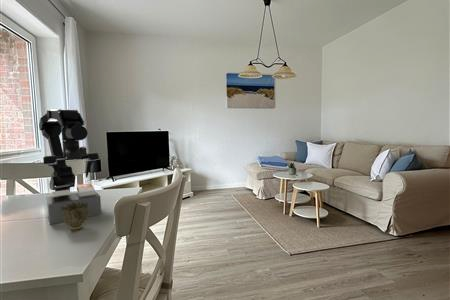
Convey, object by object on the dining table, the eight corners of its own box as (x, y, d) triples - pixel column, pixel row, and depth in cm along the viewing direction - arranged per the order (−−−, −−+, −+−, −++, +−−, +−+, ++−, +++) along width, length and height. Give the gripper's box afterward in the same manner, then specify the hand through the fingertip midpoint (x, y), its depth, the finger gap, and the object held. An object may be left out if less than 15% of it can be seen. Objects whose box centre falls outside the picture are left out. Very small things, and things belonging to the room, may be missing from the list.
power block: (47, 215, 93) (46, 196, 93) (94, 206, 103) (93, 189, 102) (49, 224, 84) (48, 203, 83) (101, 213, 93) (100, 195, 93)
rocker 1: (51, 197, 90) (51, 191, 91) (67, 194, 94) (67, 189, 94) (53, 198, 84) (52, 192, 84) (70, 195, 87) (69, 189, 87)
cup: (77, 235, 75) (75, 209, 74) (56, 233, 76) (55, 208, 75) (95, 225, 82) (93, 202, 81) (76, 224, 83) (74, 201, 83)
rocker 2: (76, 189, 95) (76, 185, 95) (91, 187, 98) (91, 183, 98) (80, 197, 89) (79, 192, 89) (95, 195, 92) (95, 190, 92)
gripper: (42, 142, 87) (46, 185, 88) (100, 139, 98) (103, 178, 99) (41, 141, 96) (45, 181, 97) (94, 139, 107) (97, 175, 108)
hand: (73, 179), depth 100 cm, fingers open, 9 cm apart
